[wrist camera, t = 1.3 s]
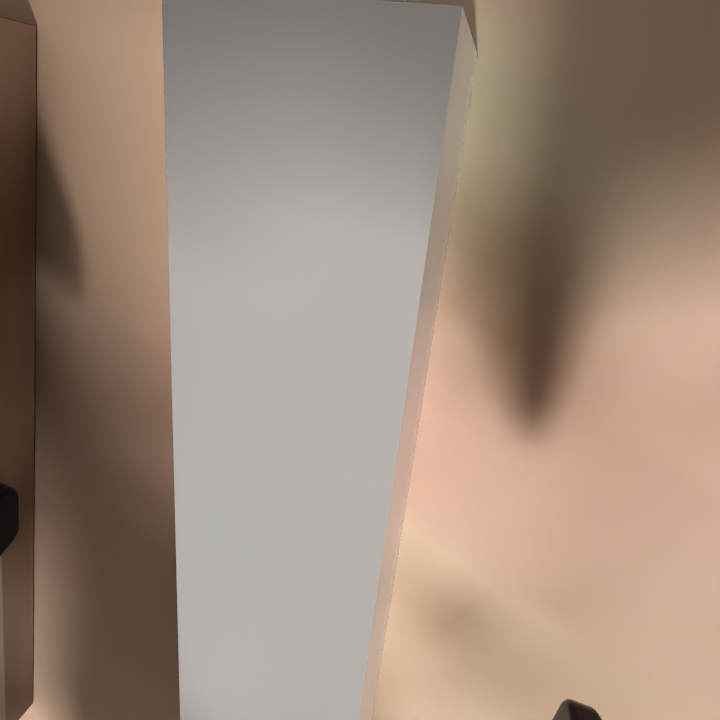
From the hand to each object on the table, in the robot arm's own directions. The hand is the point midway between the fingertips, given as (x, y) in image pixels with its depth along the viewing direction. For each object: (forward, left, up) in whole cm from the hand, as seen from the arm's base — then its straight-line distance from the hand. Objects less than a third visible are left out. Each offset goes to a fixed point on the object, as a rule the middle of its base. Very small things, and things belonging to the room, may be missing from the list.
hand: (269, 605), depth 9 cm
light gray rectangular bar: (0, 0, -4) cm, 4 cm away
